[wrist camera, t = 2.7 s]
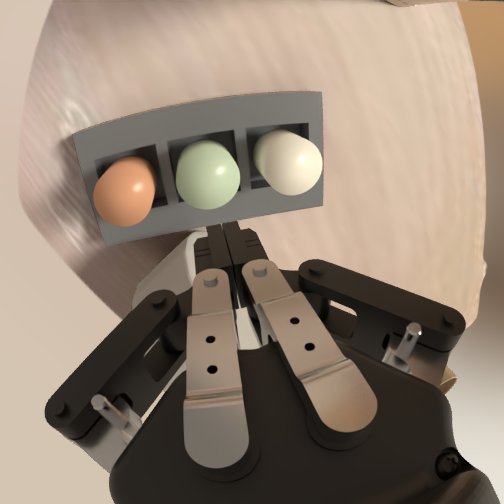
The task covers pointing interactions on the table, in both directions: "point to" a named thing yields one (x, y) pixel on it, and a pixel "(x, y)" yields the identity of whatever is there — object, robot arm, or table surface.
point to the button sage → (206, 174)
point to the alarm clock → (186, 288)
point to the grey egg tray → (195, 128)
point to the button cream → (287, 161)
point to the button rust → (126, 191)
